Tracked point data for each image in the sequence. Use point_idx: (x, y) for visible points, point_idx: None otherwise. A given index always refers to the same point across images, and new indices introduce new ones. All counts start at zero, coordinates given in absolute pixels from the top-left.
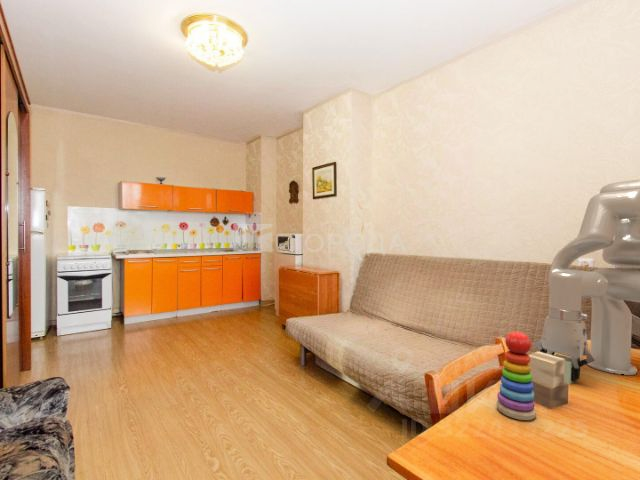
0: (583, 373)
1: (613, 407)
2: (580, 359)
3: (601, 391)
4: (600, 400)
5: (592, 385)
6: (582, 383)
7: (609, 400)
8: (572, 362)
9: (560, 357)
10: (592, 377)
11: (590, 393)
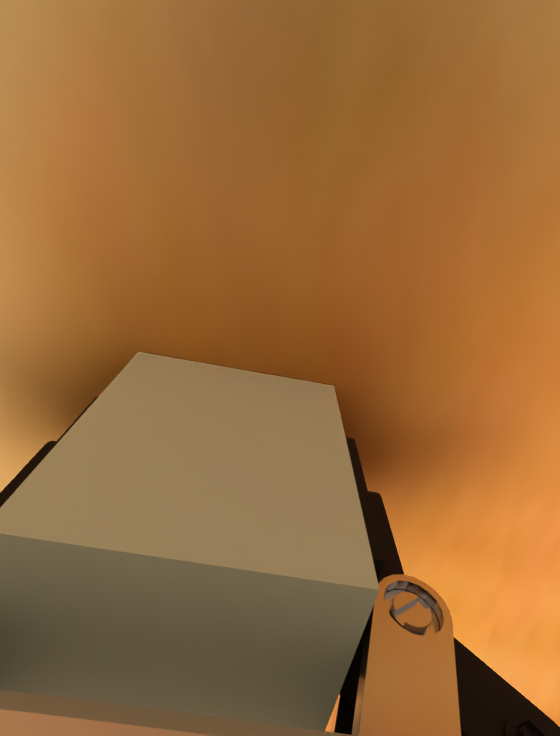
0: (402, 20)
1: (550, 691)
2: (456, 723)
3: (528, 502)
4: (492, 651)
5: (473, 416)
6: (390, 432)
7: (551, 619)
8: (322, 723)
9: (121, 670)
10: (505, 120)
11: (441, 591)
